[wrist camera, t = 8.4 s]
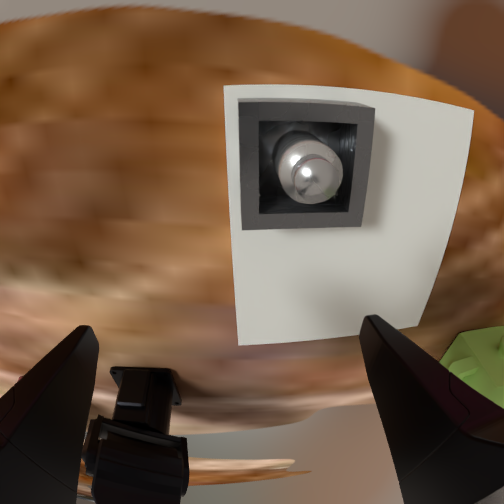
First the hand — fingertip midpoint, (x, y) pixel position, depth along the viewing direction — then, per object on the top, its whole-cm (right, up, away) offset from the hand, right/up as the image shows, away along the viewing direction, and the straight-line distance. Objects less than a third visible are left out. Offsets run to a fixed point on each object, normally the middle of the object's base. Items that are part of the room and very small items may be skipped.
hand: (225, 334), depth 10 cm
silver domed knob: (+3, +8, +8) cm, 12 cm away
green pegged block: (+30, -9, +22) cm, 38 cm away
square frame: (+3, +8, +7) cm, 11 cm away
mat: (+8, +4, +12) cm, 15 cm away
